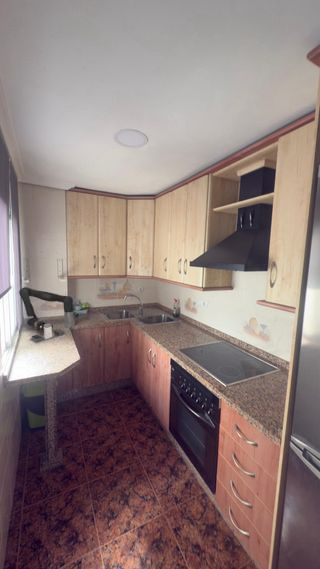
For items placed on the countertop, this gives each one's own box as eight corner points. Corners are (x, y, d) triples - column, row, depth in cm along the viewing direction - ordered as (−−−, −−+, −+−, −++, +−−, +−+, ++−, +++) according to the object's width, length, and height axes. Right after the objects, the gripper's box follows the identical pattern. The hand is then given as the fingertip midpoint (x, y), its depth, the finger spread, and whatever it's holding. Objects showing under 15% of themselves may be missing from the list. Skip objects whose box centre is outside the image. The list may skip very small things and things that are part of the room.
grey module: (49, 335, 226) (48, 323, 225) (52, 336, 223) (51, 324, 221) (44, 336, 223) (43, 324, 221) (46, 338, 220) (46, 326, 218)
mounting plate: (58, 332, 238) (58, 328, 238) (65, 335, 229) (65, 331, 229) (29, 340, 217) (29, 336, 216) (36, 344, 208) (35, 340, 207)
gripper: (32, 323, 226) (39, 326, 216) (47, 319, 237) (54, 323, 227) (32, 330, 227) (40, 334, 217) (47, 326, 238) (55, 330, 228)
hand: (47, 328), depth 222 cm, fingers open, 8 cm apart
